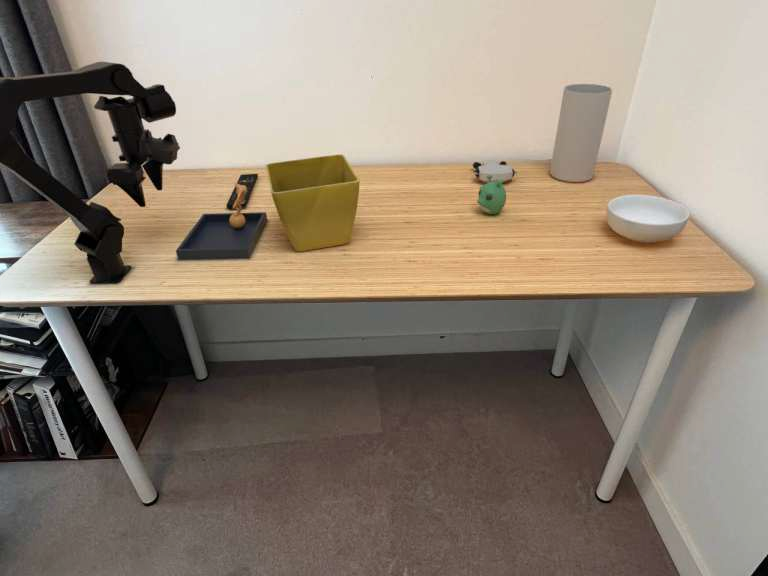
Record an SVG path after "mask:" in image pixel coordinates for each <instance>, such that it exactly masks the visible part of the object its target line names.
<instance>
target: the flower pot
mask: <svg viewBox="0 0 768 576" xmlns="http://www.w3.org/2000/svg"><path fill="white" fill-rule="evenodd" d="M265 169H266V173H267V174H266V175H267V179H268V183H269V188H270V193H271V196H272V200H273V203H274V206H275V209H276V212H277V214H278V217H279V219H280V223H281V225H282V227H283V229H284V231H285V233H286V235H287V237H288V239H289V241H290V244H291V245H292V248H294V250H295V251H296V252H299V253H300V252H306V251H310V250H311V251H313V250H317V249H324V248H331V247H335V246H342V245H346V244H348V243H349V241H350V238H351V236H352V232H353V229H354V225H355V221H356V217H357V209H358V205H359V204H358V203H359V195H360V178H359V177H358V175H357V174H356V172H355V171H354V169H353V167H352V166H351V164H350V163H349V161H348V159H347V158H346V156H345V155H344V154H340V153H339V154H331V155H324V156H314V157H307V158H300V159H299V158H298V159H293V160H292V159H291V160H285V161H284V160H283V161H277V162H269V163H267V164H266V165H265Z"/></svg>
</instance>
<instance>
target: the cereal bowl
mask: <svg viewBox="0 0 768 576" xmlns="http://www.w3.org/2000/svg"><path fill="white" fill-rule="evenodd" d="M689 219H690V212H689V210H688V209H687V208H686V207H685V206H683V205H682V204H681V203H679V202H676V201H674V200H670V199H668V198H664V197H661V196H655V195H650V194H649V195H648V194H625V195H624V194H623V195H620V196H617V197H613V198H612V199H611V200H610V201H609V202H608V204H607V208H606V221H607V224H608V226H609V228H611V229H612V230H613V231H614V232H616V234H617V235H620V236H622V237H624V238H625V239H627V240H629V241H632V242H635V243H640V244H652V243H659V242H665V241H668V240H671V239H673V238H675V237H676V236H678V235H680V233H682V232H683V231H684V229H685V227H686V225H687V224H688V223H689V222H688V220H689Z"/></svg>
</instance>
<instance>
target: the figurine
mask: <svg viewBox="0 0 768 576" xmlns="http://www.w3.org/2000/svg"><path fill="white" fill-rule="evenodd" d="M234 188H236V189H237V191H236V193H237V195H238V197H237V199H236V201H235V203H234V205H233V208H232V209H234V208H235V209H236V210H235V212H233V213H234V214H232V215H231V216H230V219H229V223H230V225H231V226H232V227H233V228H235V229H240V228H242V227H244V225H245V223H246V220H245V217H244V216H243V215H242V214H240V213H242V210H243V209H242V206H241V205H240V203H241V202H242V200H243V199H244V196H245V194H246V192H247V188H246V186H243V185H239V184H237V182H236V183H234ZM237 206H238V207H239V208H240V209H239V208H237Z"/></svg>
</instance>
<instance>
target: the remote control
mask: <svg viewBox="0 0 768 576" xmlns="http://www.w3.org/2000/svg"><path fill="white" fill-rule="evenodd" d="M258 177H259V174H258V173H247V174H240V175H239V178H238V180H237V182H236V183H237V184H239V185H243V186H246V188H247V192H246V194H245V196H244V199H243V200H242V202H241V203H240V205H241V206H242V210H243V209H244V208H246V207H247V206H248V203H249V200H250V198H251V196H252V193H253V189H254V188H255V185H256V183H257V179H258ZM236 191H237V189H236V188H235V187H234V188H233V190H232V193H231V195H230V196H229V199H228V200H227V203H226V205H225V206H226V208H227V209H229V210H231V211H237V210H236V209H235V208H234V209H232V208H233V205H234V203H235V201H236V199H237V197H238V195H237V193H236ZM237 208H239V207H238V206H237ZM239 209H240V208H239Z"/></svg>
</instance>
